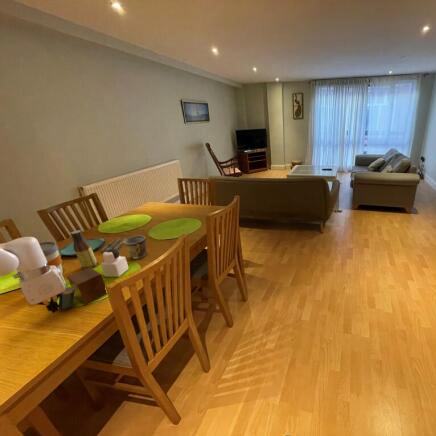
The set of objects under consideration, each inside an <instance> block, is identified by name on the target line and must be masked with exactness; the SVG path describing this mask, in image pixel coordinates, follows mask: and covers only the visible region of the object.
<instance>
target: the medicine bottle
mask: <svg viewBox="0 0 436 436" xmlns="http://www.w3.org/2000/svg"><path fill="white" fill-rule="evenodd" d="M102 257H103V260H104V261H103V262H101V263H100V267H101V269H102V273H103V275H104V277H111V278H112V277H113V278H120V277H121V276H122V275H123V274H124V273H125V272H127V270H129V269H130V268H129V265H128V261H127V258H126V256H121V254H120V252H119V250H118V249H114V248H113V249H110V250H106V251H105V250H104V251H103V253H102Z"/></svg>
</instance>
